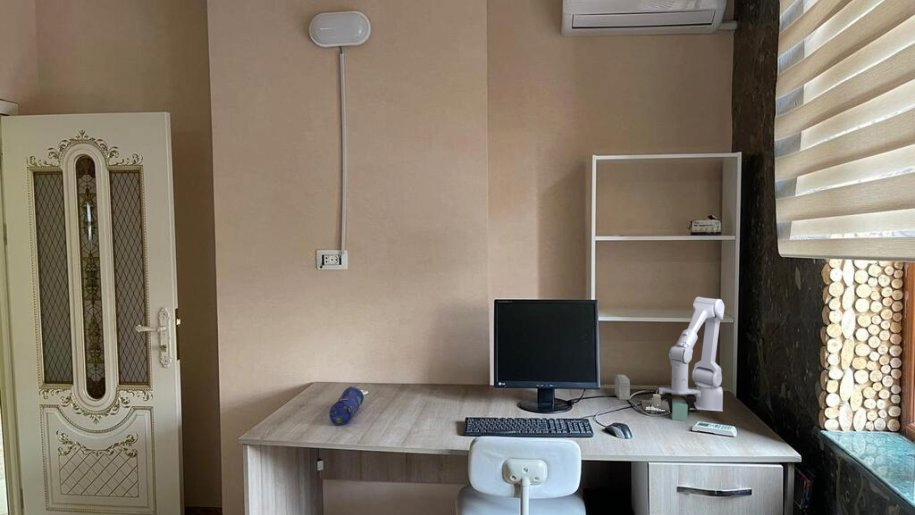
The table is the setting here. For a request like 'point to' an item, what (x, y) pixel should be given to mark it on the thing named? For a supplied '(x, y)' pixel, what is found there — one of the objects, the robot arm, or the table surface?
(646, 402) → the post board
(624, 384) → the medicine box
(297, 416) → the table surface
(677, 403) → the seafoam green cube
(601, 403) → the table surface
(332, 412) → the pencil case
